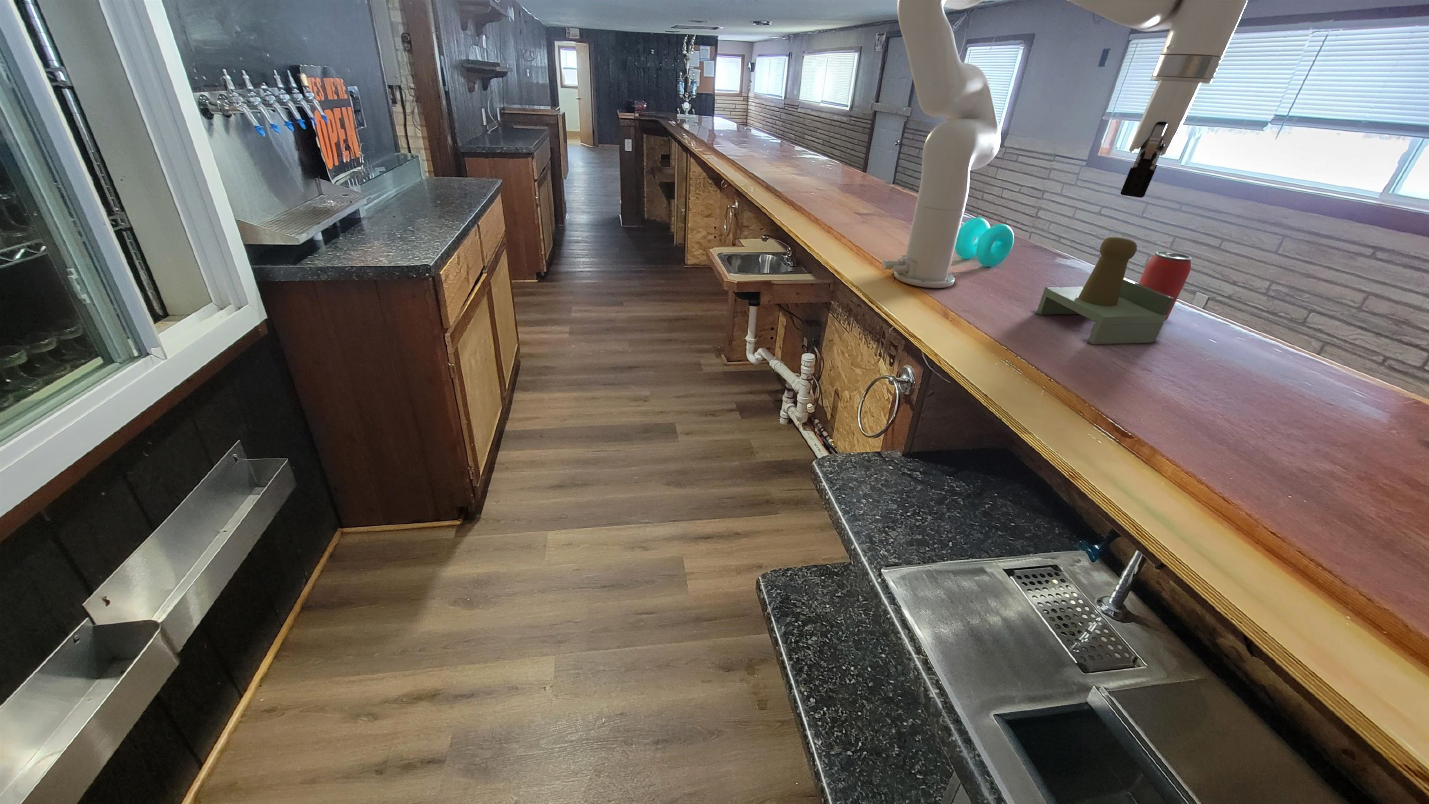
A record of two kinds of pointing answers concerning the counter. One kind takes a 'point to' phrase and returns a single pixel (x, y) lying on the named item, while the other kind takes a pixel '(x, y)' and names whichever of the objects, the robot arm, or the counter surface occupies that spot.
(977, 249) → the turquoise spool
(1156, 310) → the shelf
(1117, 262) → the cork
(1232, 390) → the counter surface
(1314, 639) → the counter surface
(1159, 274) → the beer can
